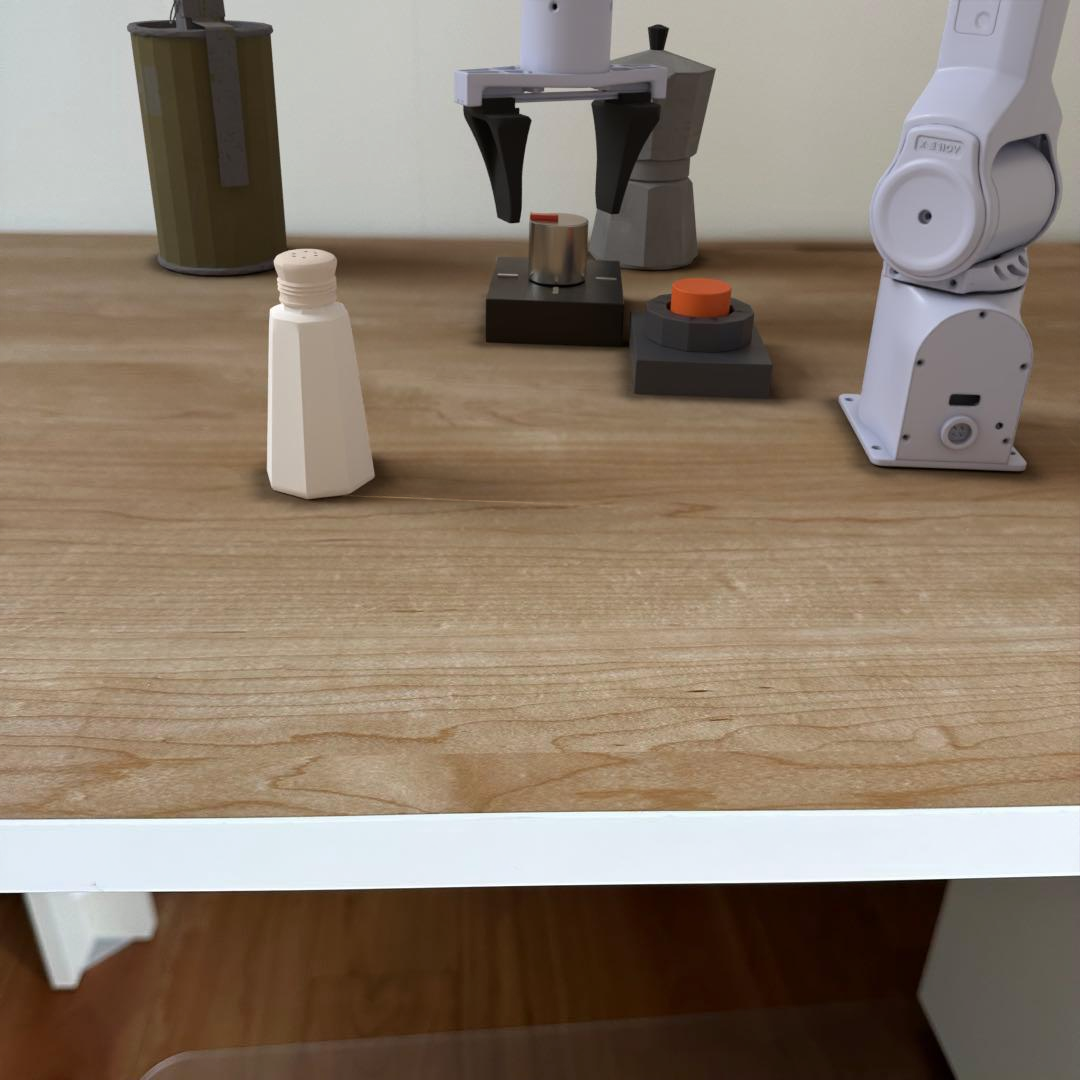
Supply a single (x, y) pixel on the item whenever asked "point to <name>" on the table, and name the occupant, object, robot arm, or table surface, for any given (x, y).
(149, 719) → the table surface
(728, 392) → the switch block
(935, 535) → the table surface
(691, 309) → the power button
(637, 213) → the coffeepot
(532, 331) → the dial panel
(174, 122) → the canister
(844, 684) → the table surface
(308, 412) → the pepper shaker
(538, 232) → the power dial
